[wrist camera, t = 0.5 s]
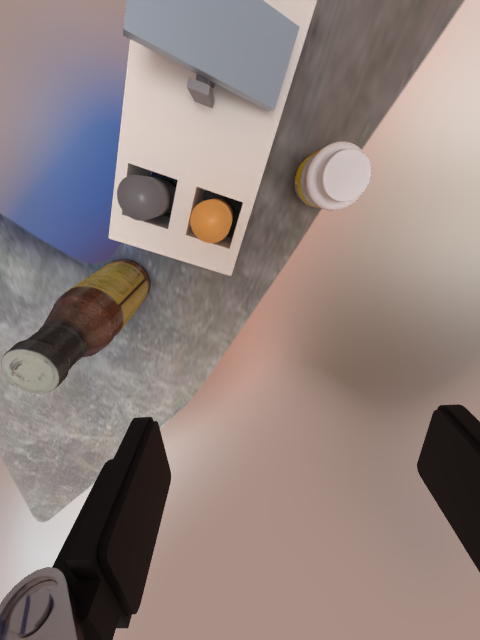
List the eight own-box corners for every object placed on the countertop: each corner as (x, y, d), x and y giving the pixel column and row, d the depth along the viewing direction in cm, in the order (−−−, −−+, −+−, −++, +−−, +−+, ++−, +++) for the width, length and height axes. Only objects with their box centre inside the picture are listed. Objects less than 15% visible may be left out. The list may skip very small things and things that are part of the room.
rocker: (134, -74, 16) (136, -102, 14) (285, 32, 21) (301, 21, 19) (122, 46, 19) (122, 35, 17) (261, 116, 23) (273, 114, 22)
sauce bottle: (97, 264, 36) (-47, 337, 18) (141, 252, 35) (37, 316, 17) (118, 309, 39) (12, 411, 21) (160, 298, 38) (86, 395, 20)
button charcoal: (148, 173, 29) (119, 168, 23) (181, 184, 30) (163, 183, 23) (142, 208, 31) (114, 213, 24) (174, 218, 31) (155, 226, 24)
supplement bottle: (350, 164, 31) (396, 152, 22) (327, 213, 33) (359, 222, 24) (305, 144, 30) (333, 123, 21) (284, 196, 32) (301, 198, 23)
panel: (172, -40, 24) (127, -186, 15) (307, 20, 26) (344, -78, 17) (133, 229, 34) (91, 244, 25) (233, 261, 36) (229, 286, 26)
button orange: (206, 193, 30) (195, 194, 23) (237, 204, 31) (235, 208, 24) (198, 226, 32) (186, 236, 25) (228, 236, 32) (224, 248, 25)
